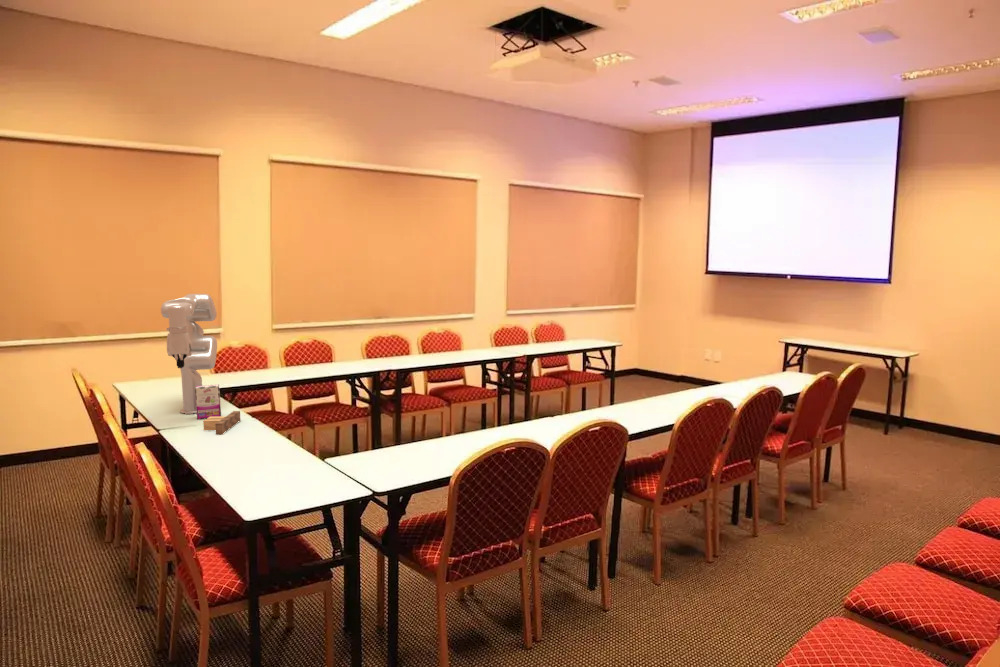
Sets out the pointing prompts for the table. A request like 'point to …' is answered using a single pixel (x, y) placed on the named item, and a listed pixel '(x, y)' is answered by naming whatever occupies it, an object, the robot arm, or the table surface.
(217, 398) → the candy bar box
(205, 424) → the block
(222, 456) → the table surface
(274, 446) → the table surface
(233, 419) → the rail
